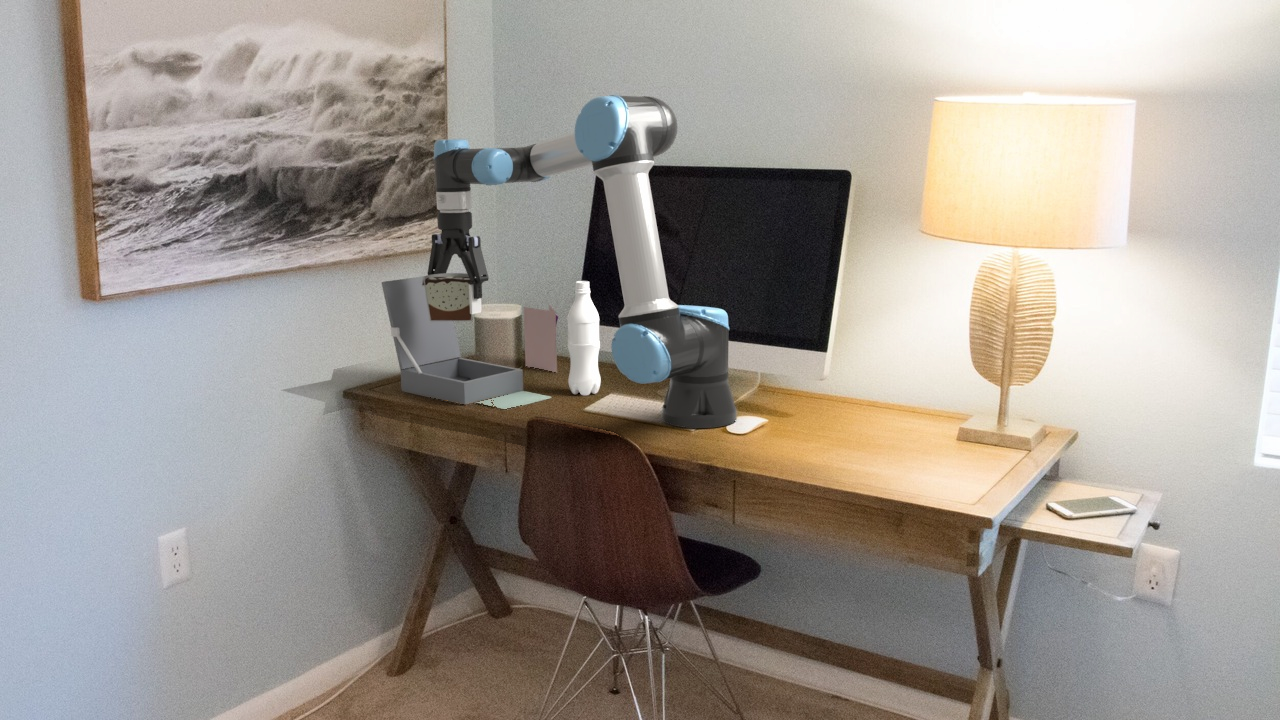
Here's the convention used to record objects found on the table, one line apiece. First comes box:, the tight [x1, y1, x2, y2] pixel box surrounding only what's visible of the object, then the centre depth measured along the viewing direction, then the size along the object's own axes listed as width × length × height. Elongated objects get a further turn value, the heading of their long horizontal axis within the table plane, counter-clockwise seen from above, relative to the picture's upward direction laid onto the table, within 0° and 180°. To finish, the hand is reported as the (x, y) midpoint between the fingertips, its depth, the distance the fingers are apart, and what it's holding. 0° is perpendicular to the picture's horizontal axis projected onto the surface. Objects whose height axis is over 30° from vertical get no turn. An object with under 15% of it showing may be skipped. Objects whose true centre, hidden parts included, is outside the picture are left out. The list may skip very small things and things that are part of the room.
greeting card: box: [523, 304, 559, 374], centre depth 276 cm, size 11×7×15 cm, turn 12°
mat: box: [474, 390, 552, 410], centre depth 246 cm, size 9×14×1 cm, turn 139°
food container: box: [422, 272, 474, 322], centre depth 251 cm, size 12×6×10 cm, turn 87°
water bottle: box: [566, 280, 602, 397], centre depth 250 cm, size 7×7×25 cm
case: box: [380, 276, 524, 404], centre depth 254 cm, size 27×17×25 cm, turn 49°
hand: (459, 311), depth 251 cm, fingers closed on food container, 10 cm apart
